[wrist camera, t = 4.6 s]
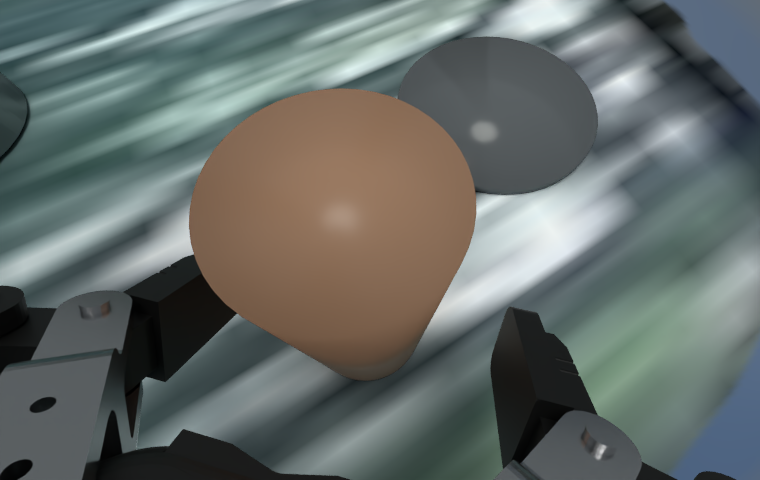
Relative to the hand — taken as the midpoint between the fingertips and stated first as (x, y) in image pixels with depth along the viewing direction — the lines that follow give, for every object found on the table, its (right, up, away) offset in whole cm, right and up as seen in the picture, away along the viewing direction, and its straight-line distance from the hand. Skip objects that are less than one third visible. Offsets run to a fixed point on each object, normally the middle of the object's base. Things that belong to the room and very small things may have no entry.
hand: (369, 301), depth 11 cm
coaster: (+7, +10, +12) cm, 17 cm away
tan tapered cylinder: (0, -2, +7) cm, 7 cm away
